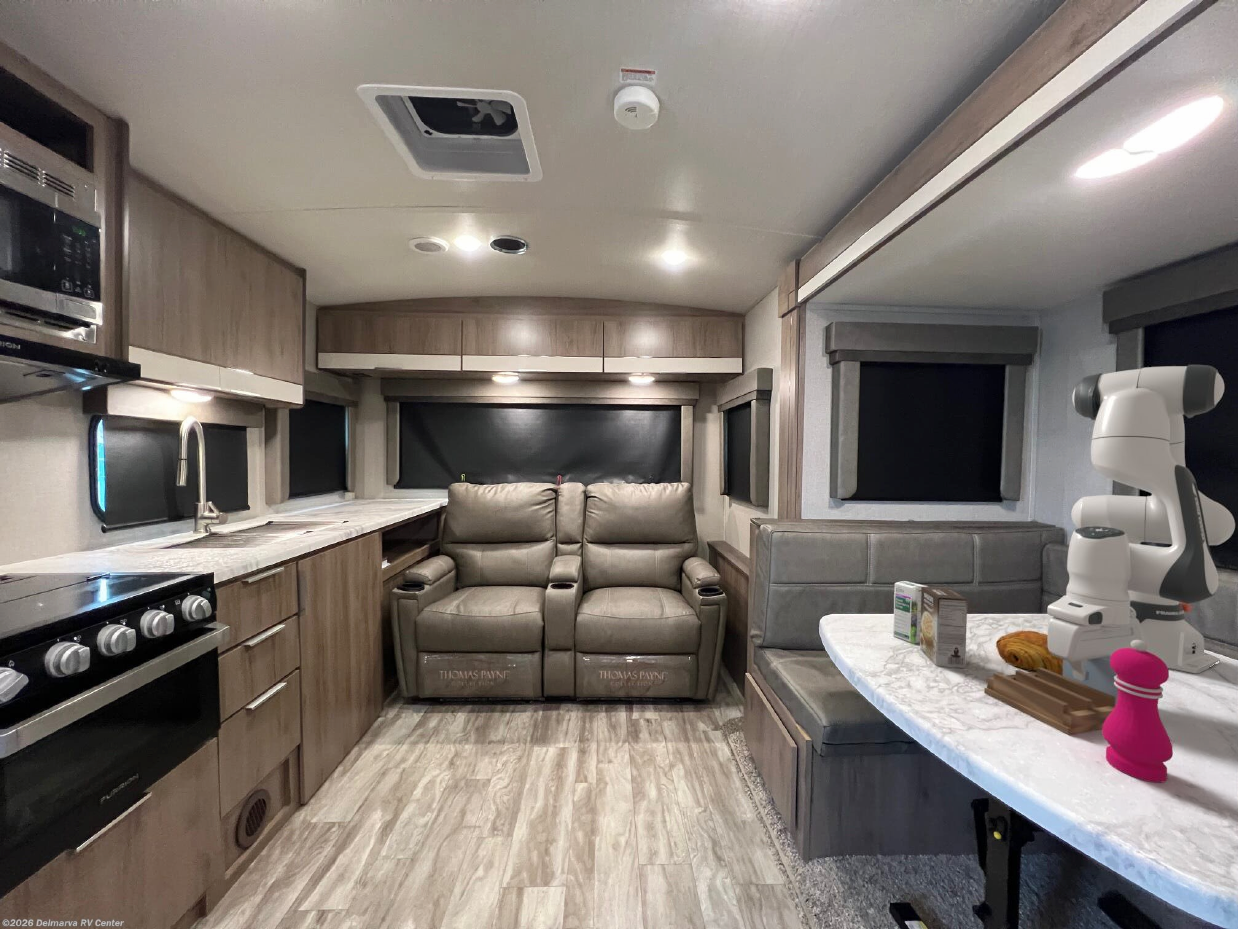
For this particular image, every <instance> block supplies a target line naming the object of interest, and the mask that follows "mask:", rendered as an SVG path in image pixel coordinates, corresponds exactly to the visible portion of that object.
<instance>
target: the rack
mask: <svg viewBox="0 0 1238 929" xmlns="http://www.w3.org/2000/svg"><path fill="white" fill-rule="evenodd" d="M986 682H987V683H986V684H987V685H986V687H984V688H983V689H984V690H983V691H984V694H986V695H988V696H990V697H992V698H994V699H996V700H997V701H1000V702H1001V703H1004V704H1006V705H1008V706H1009V707H1012V708H1014V709H1016V710H1018V711H1020V712H1021V713H1024V714H1026V715H1027V716H1030V717H1032V718H1034V719H1035V720H1037V721H1040V722H1041V723H1044V724H1046V725H1047V726H1049V727H1052V728H1053V729H1056V730H1058V731H1060V732H1061V733H1063V734H1065V735H1068V736H1069V735H1075V734H1081V733H1087V732H1092V731H1098V730H1102V729H1103V724H1104V722H1105V720H1106V718H1107V717H1108V716H1109V714H1110V713H1111V712H1112V711H1113V709H1114V708H1115V697H1114V696H1112V695H1109V694H1107V693H1104V692H1102V691H1099V690H1096V689H1094V688H1091V687H1089V686H1086V685H1084V684H1081V683H1079V682H1076V681H1074V680H1071V679H1069V678H1066V677H1064V676H1061V675H1059V674H1056V673H1054V672H1051V671H1049V670H1046V669H1044V668H1041V667H1040V668H1037V672H1035V671H1032V672H1025V671H1024V670H1021V669H1018V670H1015V674H1007V675H1006V674H1005V675H1004V674H1002V673H1000V672H995V673H993V676H992V677H987V681H986Z"/></svg>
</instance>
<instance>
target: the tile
mask: <svg viewBox="0 0 1238 929" xmlns="http://www.w3.org/2000/svg"><path fill="white" fill-rule="evenodd" d="M1084 667H1085V670H1086V671H1087V672H1089V676H1088V677H1089V679H1088V680H1085V681H1080V680H1078V679H1075V678H1074V677H1073V669H1072V667H1071V665H1070V663H1069V661H1066V660H1063V676H1064V677H1066V678H1069V679H1071V680H1074V681H1076V682H1079V683H1081V684H1084V685H1086V686H1089V687H1091V688H1094V689H1096V690H1099V691H1102V692H1104V693H1107V694H1109V695H1112V696H1114V697H1115V705H1116V703H1117V698H1118V688H1117V687H1116V686H1115V685H1114V682H1115V679H1114V676H1116V675H1117V674H1116V673H1115V671H1114V670H1113V669H1112V668H1111V665H1110V657H1103V658H1096V659H1088V660H1086V664H1085V665H1084Z"/></svg>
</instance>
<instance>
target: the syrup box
mask: <svg viewBox="0 0 1238 929" xmlns="http://www.w3.org/2000/svg"><path fill="white" fill-rule="evenodd" d="M921 587H928V585H923V584H920V583H915V582H911V581H907V580H902V581H901V580H900V581H897V582H895V583H894V592H893V593H894V594H893V630H892V636H893V637H894V638H898V639H900V640H903V641H906V642H909V643H911V644H918V643H920V625H921Z"/></svg>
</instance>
